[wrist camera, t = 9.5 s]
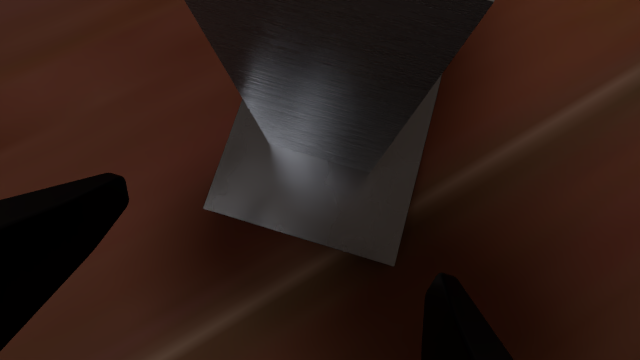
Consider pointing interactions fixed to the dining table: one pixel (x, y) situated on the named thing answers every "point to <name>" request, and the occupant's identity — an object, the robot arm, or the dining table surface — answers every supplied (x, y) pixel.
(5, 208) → the robot arm
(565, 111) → the dining table surface
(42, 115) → the dining table surface
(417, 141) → the block
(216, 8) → the lock block
